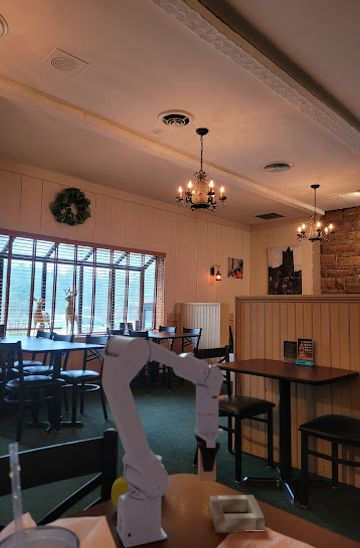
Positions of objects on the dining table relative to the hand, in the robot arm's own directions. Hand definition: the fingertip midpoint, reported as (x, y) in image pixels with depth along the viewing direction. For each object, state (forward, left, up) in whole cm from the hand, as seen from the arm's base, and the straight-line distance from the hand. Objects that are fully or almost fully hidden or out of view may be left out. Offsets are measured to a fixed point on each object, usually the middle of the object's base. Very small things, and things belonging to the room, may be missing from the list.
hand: (206, 467), depth 103 cm
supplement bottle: (-10, +12, -10) cm, 18 cm away
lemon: (-20, +7, -10) cm, 23 cm away
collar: (+4, -7, -10) cm, 13 cm away
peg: (0, 0, -2) cm, 2 cm away
